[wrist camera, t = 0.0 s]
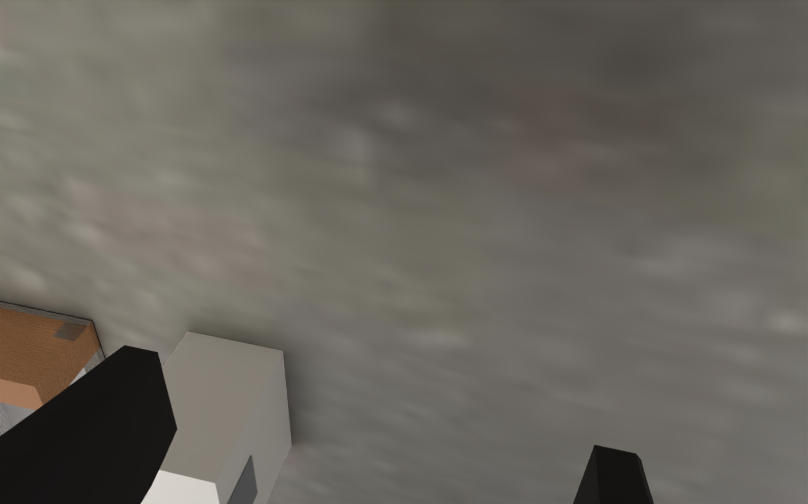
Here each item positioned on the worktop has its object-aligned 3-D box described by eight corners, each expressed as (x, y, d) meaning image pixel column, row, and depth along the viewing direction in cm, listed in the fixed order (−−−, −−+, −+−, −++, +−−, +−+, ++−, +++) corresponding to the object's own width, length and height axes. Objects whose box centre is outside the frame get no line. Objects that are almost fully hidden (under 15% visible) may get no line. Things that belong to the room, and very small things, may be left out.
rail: (158, 519, 37) (115, 595, 33) (35, 488, 38) (-18, 559, 34) (92, 320, 27) (24, 399, 24) (-68, 287, 28) (-153, 358, 25)
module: (293, 444, 30) (236, 576, 25) (206, 425, 30) (136, 550, 26) (284, 350, 26) (216, 483, 21) (186, 329, 27) (99, 455, 22)
